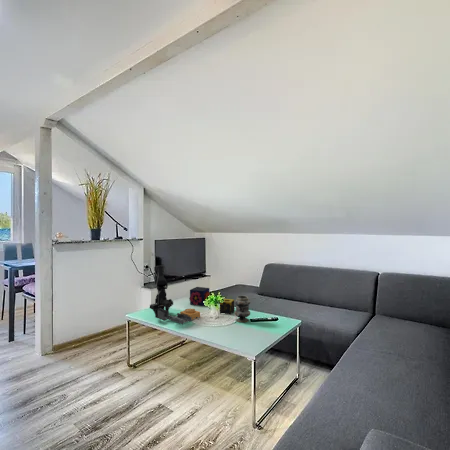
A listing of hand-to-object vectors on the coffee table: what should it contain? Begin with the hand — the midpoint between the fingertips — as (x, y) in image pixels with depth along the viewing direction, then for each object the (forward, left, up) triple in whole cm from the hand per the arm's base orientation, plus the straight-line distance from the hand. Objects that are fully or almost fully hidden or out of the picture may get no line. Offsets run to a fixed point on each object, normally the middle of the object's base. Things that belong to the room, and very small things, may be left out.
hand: (161, 315), depth 235 cm
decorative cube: (-8, +48, -2) cm, 49 cm away
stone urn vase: (+52, +36, -2) cm, 63 cm away
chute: (0, 0, -2) cm, 2 cm away
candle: (+29, +44, -2) cm, 53 cm away
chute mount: (+15, +6, -2) cm, 16 cm away
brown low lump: (+15, +16, -2) cm, 22 cm away
